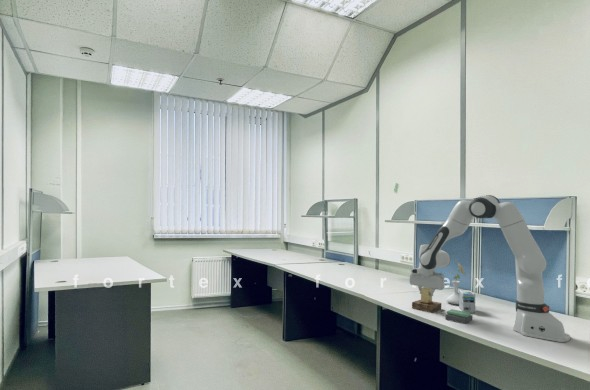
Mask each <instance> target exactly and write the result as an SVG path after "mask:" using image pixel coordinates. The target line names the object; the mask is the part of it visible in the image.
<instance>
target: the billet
mask: <svg viewBox="0 0 590 390" xmlns="http://www.w3.org/2000/svg"><path fill="white" fill-rule="evenodd" d="M430 292H432V290H431V288H427V287H422V288H421V294H420V300H421V302H424V303H431V302H432V301H433V296H430Z"/></svg>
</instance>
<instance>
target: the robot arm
mask: <svg viewBox="0 0 590 390" xmlns="http://www.w3.org/2000/svg"><path fill="white" fill-rule="evenodd" d="M474 217H475V218H476V219H492V218H493V219H495V220H496V222H497V223H498V225H499V228H500V230H501V232H502V234H503V237H504V239H505V240H506V242H507V244H508V246H509V248H510V250H511V252H512V254H513V256H514V257H515V258H514V259H515V260H514V262H515V263H514V264H515V276H516V277H515V278H516V300H515V311H516V313H515V321H514V325H513V327H512V329H513V331H515V332H517V333H519V334H520V335H522V336H525V337H529V338H530V337H531V338H535V339H541V340H547V341H552V342H558V343H567V342H569V341H571V335H570V334H569V333H567V332H565V327H564V324H563V322H562V321H560V320H559V319H558V318H557V317H555V316H554V315H553V314H552V313H550V305H548V304H546V303H545V285H544V284H545V283H544V279H543V278H544V277H543V272H544V271H545V270H546V268H547V260H546V258H545V256H544V254H543V252H542V250H541V249H540V247H539V245H538V243H537V242H536V240H535V237H533V235H532V233H531V231H530V229H529V227H528V224H527V223H526V221H525V218H524V216H523V215H522V213H521V212H520V210H519V208H518V207H517V206H516V204H515V203H513V202H512V201H511V202H510V201H504V202H500V199H498V197H496V196H495V195H491V194H490V195H489V194H488V195H480V196H478V197H475V198H474V199H472V200H471V201H469V200H468V199H467V200H466V199H462V200H458V201H457V202H456V204H455V205H454V207H453V208H452V210H451V211H450V213H449V214H448V217H447V219H446V220H445V221H444V224H442V226H441V227H440V228H439V229H438V231H437V232H436V233H435V235H434V236H433V238H432V239H431V241H430V243H422V244H420V246H419V251H418V259H419V260H418V261H419V263H418V267H416V268H412V269H410V274H409V284H410V285H411V286H417V288H418V290H419V294H420V295H421V288H423V287H427V288H431V290H432V292H430V296H432V297H434V293H435V291H436V290H439V291H442V290H444V289H445V276H444V274H443V273H442V272H437V271H436V269H441V268H446V267H448V266H449V265H450V263H451V257H450V253H448V252H447V251H445V250H442V248H443V247H444V245H445V244H446V242H448V241H450V240H451V239H453V238H456V237H459V236H462V235H463V234H464V233H465V232H466V231H467V230H468V228H469V226H470V224H471V223H472V220H473V219H474Z"/></svg>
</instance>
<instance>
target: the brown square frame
mask: <svg viewBox="0 0 590 390" xmlns="http://www.w3.org/2000/svg"><path fill="white" fill-rule="evenodd" d="M411 309H414V310H418V311H423V312H427V313H434V312H437V311H440V310H442V302H437V301H433V300H432V302H431V303H424V302H421V299H418V300H415V301H412V302H411Z"/></svg>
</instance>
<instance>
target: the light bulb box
mask: <svg viewBox="0 0 590 390" xmlns="http://www.w3.org/2000/svg"><path fill="white" fill-rule="evenodd" d="M458 294H459V305H458V306H459V310H460V311H463V312H468V313H471V314H476V294H475V293H474V292H473V291H471V290H469V289H468V290H465V289H458Z"/></svg>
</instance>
